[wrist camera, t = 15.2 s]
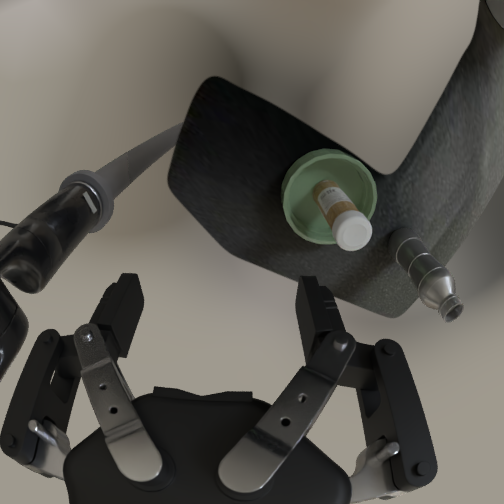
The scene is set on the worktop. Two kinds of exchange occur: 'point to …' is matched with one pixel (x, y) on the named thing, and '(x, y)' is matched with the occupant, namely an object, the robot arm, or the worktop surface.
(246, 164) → the worktop surface
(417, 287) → the plastic bottle
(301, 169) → the bowl
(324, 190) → the sprinkles bottle
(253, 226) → the worktop surface
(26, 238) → the robot arm
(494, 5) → the cylinder vase
